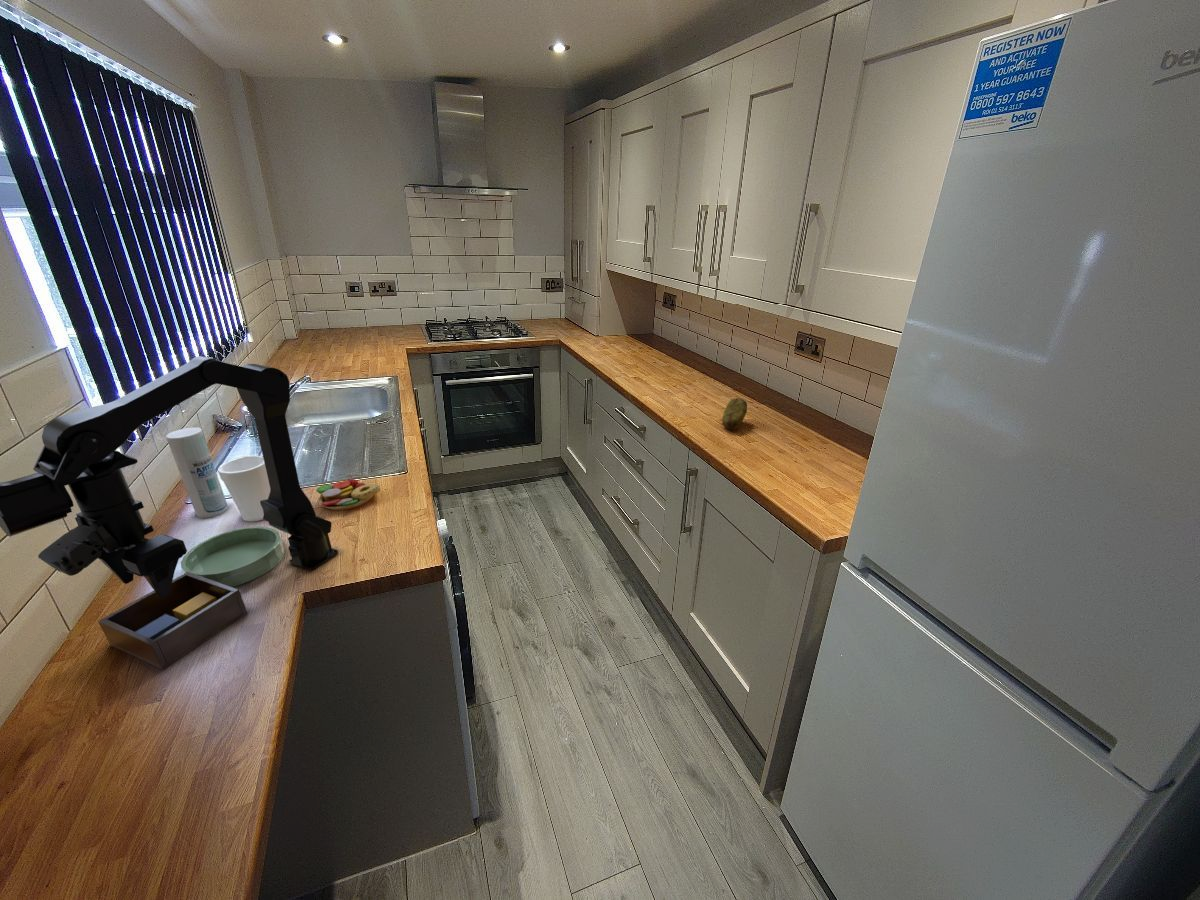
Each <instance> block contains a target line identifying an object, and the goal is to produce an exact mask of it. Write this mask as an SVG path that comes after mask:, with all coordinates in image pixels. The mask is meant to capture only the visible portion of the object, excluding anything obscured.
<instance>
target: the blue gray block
mask: <svg viewBox="0 0 1200 900" xmlns="http://www.w3.org/2000/svg"><path fill="white" fill-rule="evenodd" d="M180 623H181V622H180V620H179V619H177V618H174V617H172V616H169V615H167V614H165V615H163V616H161V617H160V618H158V619H156V620H155V621H153V622H151V623H150V624H148V625H146V626H145V627H143V628H141V629H140V630H138V631H136V632H137V633H139V634H141V635H144V636H146V637H148V638H150V639H153V640H154V639H156V638H157V637H159V636H160V635H162V634H164V633H165V632H167V631H168V630H170V629H172V628H173V627H175V626H177V625H178V624H180Z"/></svg>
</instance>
